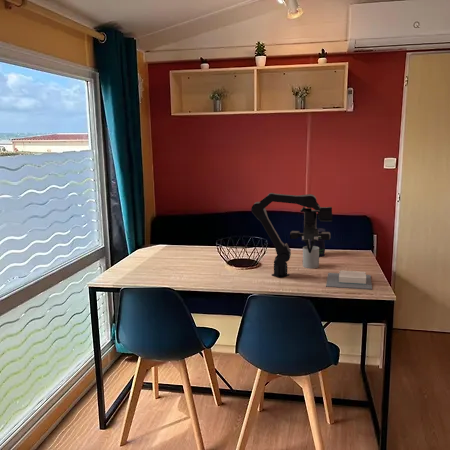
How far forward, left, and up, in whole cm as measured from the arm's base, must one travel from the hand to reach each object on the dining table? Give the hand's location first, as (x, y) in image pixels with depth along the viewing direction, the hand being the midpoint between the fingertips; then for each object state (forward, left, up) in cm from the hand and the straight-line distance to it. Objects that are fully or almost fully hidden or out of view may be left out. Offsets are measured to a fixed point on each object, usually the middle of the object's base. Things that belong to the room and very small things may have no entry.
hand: (309, 252), depth 221 cm
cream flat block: (+5, -14, -10) cm, 18 cm away
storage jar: (+33, +23, -12) cm, 42 cm away
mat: (+7, -17, -12) cm, 22 cm away
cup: (+14, +11, -12) cm, 22 cm away
